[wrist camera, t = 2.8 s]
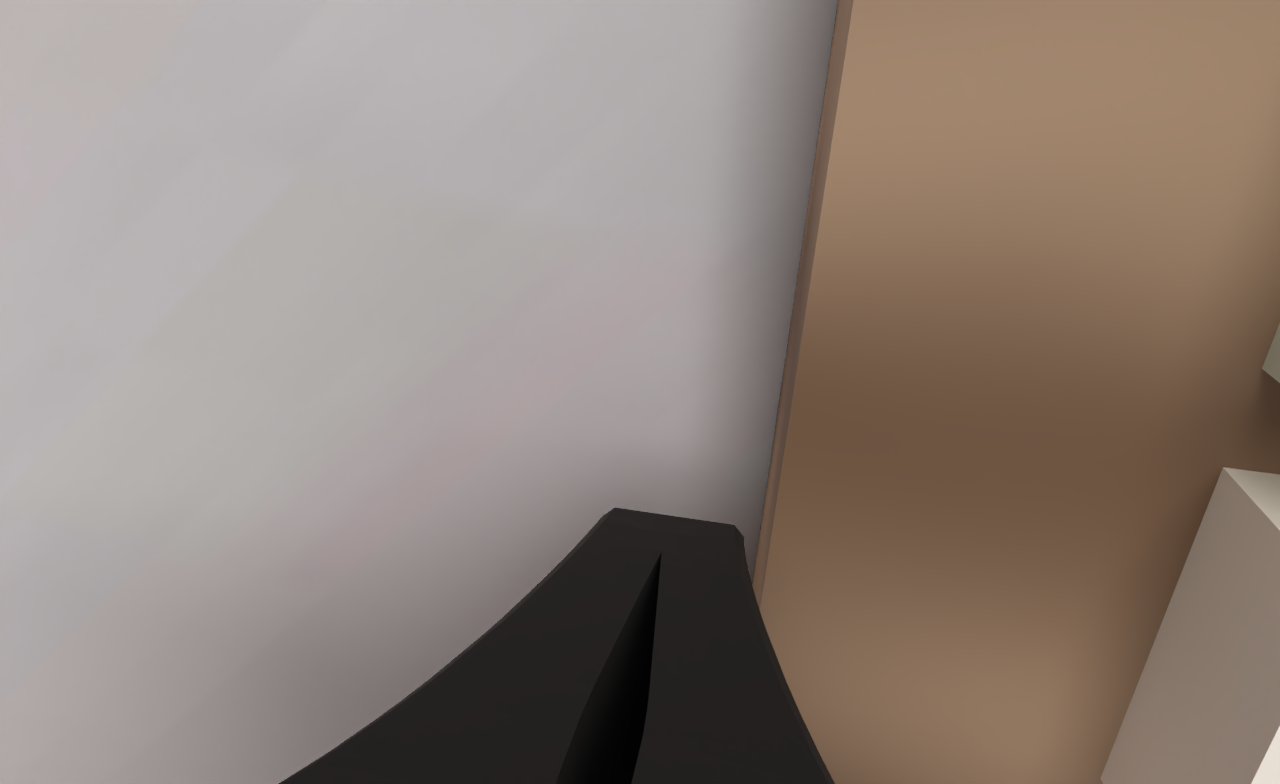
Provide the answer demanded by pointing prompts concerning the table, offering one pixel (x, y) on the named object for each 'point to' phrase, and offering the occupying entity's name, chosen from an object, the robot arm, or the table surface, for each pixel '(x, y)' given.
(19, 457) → the table surface
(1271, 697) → the cream tile
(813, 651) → the walnut board
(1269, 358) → the sage tile
